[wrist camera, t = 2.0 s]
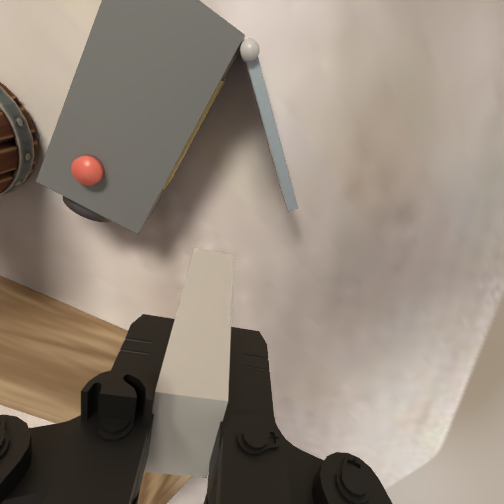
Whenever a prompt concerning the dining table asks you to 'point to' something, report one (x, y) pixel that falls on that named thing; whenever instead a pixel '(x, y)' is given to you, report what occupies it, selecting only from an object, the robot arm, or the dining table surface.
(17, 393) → the box
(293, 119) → the dining table surface
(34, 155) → the mug
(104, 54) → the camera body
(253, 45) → the side door
